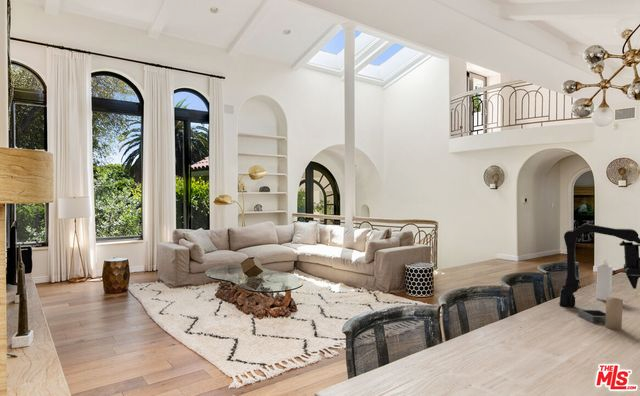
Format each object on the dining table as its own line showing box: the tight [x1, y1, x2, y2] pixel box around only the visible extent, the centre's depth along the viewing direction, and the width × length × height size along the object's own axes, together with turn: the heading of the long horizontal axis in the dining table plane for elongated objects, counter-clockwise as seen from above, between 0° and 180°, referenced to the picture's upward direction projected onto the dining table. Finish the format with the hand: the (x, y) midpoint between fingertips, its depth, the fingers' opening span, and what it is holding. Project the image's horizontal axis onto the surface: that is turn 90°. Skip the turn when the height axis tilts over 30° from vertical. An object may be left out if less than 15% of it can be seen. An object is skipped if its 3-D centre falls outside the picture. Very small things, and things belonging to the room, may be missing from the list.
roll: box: [604, 296, 624, 331], centre depth 183 cm, size 6×6×13 cm
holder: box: [578, 309, 606, 324], centre depth 194 cm, size 10×10×3 cm
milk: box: [595, 259, 613, 302], centre depth 229 cm, size 6×6×22 cm
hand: (633, 286), depth 200 cm, fingers open, 9 cm apart
